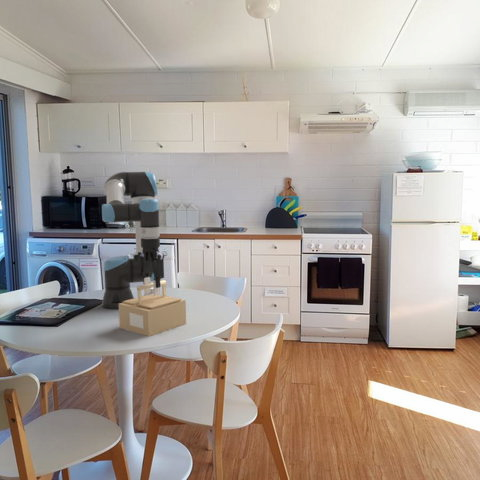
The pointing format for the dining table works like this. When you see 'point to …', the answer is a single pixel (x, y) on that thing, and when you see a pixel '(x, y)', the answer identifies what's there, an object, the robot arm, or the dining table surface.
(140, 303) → the flap
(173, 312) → the carton
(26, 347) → the dining table surface
